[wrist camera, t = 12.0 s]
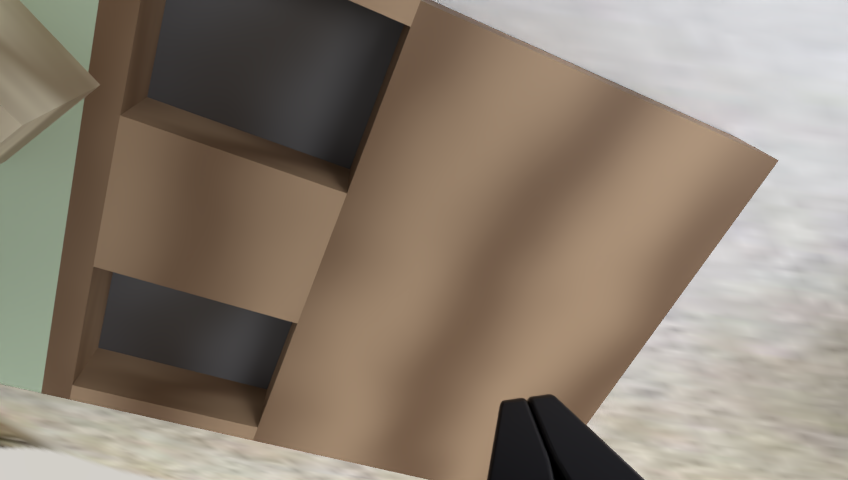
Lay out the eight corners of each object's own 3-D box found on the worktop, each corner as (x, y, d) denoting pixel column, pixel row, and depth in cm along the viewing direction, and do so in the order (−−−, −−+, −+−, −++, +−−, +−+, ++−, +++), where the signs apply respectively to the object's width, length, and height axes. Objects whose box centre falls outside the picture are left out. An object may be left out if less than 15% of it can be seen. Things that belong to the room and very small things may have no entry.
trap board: (736, 137, 21) (778, 160, 19) (518, 458, 28) (529, 502, 26) (154, -125, 16) (118, -135, 14) (72, 350, 23) (41, 393, 21)
